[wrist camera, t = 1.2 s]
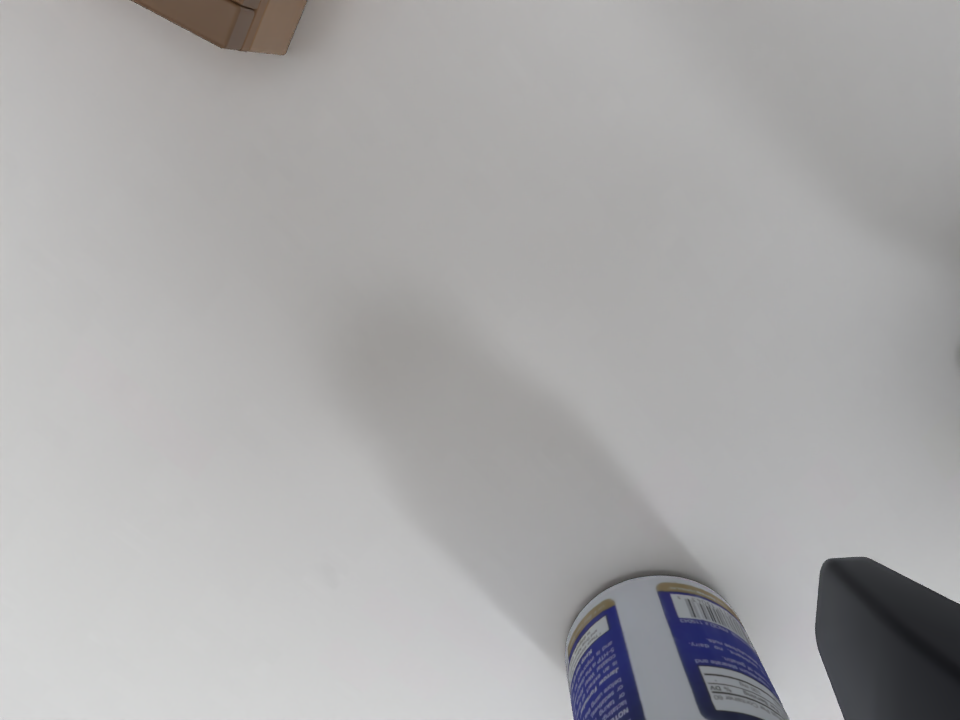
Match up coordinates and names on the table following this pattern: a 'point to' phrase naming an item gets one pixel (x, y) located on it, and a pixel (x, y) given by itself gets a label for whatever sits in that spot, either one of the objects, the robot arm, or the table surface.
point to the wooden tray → (235, 21)
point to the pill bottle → (665, 657)
